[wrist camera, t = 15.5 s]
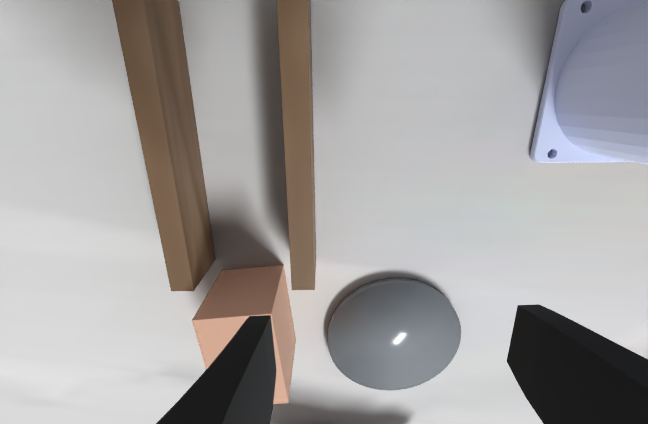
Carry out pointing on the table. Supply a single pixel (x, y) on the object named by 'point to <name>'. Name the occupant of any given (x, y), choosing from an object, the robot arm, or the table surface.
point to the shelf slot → (182, 140)
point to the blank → (237, 305)
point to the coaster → (393, 334)
